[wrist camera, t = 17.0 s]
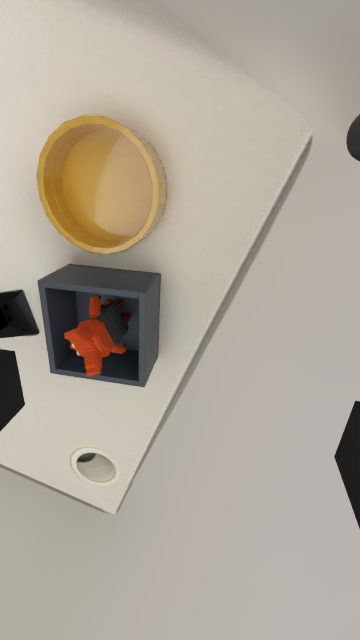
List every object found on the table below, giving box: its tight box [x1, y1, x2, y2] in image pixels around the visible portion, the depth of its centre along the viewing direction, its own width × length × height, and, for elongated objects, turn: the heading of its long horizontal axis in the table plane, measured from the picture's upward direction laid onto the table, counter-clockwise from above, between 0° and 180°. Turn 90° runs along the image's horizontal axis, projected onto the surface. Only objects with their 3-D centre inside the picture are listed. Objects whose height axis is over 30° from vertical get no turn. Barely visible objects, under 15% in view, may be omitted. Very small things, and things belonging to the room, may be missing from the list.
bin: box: [38, 264, 161, 387], centre depth 40 cm, size 13×13×8 cm
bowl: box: [37, 116, 167, 254], centre depth 35 cm, size 13×13×4 cm
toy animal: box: [64, 295, 131, 377], centre depth 38 cm, size 8×6×12 cm
